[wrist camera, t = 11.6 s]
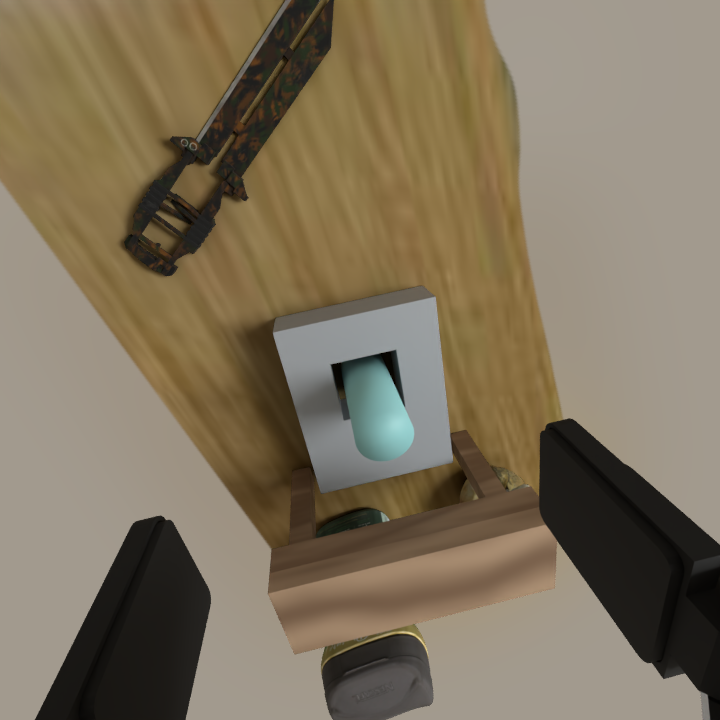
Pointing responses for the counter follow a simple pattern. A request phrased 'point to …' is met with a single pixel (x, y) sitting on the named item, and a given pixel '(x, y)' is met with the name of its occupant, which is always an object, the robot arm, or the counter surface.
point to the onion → (506, 479)
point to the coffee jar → (374, 659)
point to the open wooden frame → (409, 560)
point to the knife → (237, 127)
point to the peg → (376, 409)
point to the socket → (355, 340)
